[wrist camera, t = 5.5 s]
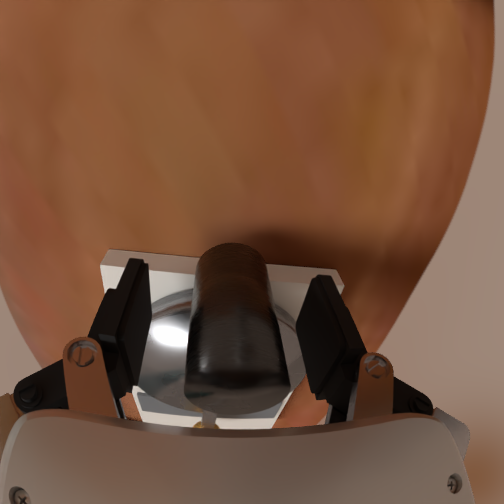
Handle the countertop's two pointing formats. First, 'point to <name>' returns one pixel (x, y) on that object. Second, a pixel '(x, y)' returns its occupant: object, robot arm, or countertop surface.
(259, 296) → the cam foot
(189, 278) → the stand
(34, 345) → the countertop surface
